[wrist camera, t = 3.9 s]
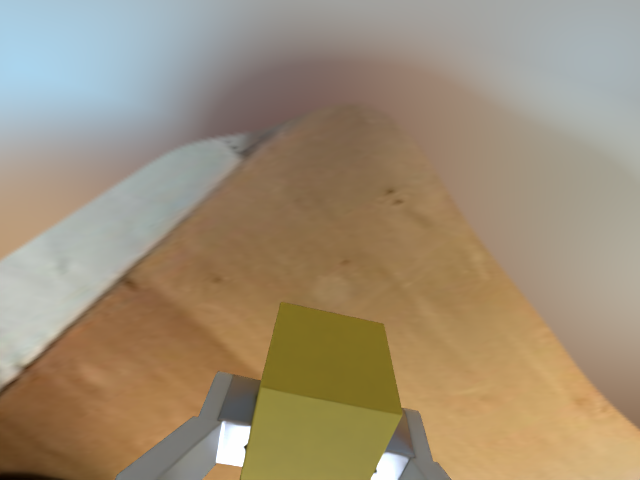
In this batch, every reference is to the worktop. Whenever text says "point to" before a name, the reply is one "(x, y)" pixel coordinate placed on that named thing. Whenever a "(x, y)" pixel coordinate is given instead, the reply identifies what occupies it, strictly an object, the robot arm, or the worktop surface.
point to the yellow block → (322, 399)
